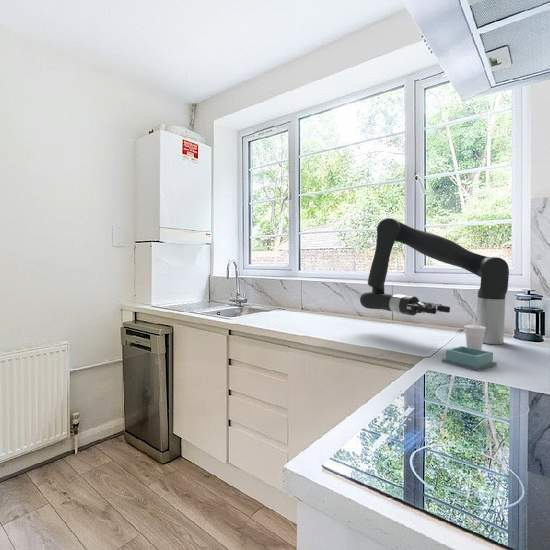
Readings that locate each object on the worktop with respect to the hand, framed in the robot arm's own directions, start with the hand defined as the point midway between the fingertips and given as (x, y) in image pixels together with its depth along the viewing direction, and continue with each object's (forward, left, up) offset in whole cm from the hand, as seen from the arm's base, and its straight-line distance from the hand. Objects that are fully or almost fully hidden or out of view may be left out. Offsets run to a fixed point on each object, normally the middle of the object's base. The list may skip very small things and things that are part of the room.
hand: (442, 310), depth 126 cm
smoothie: (0, +11, -14) cm, 18 cm away
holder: (+11, +15, -14) cm, 23 cm away
